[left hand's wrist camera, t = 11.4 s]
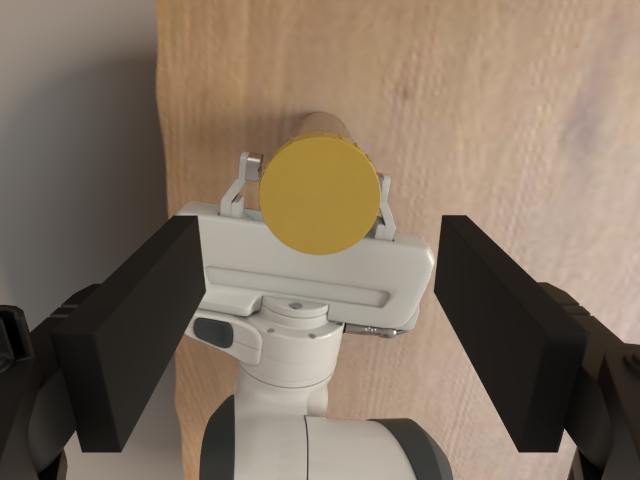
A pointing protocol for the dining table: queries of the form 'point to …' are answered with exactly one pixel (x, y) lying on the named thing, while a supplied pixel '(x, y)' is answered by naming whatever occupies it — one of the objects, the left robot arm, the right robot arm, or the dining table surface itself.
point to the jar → (320, 125)
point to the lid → (319, 193)
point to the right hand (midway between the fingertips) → (316, 164)
